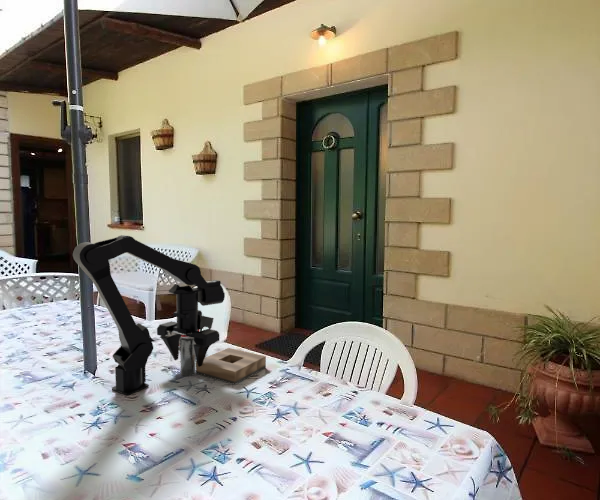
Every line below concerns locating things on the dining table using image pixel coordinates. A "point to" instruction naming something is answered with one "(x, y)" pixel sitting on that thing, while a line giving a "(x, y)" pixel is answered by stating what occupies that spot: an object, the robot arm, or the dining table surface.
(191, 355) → the metal pin
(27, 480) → the dining table surface
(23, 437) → the dining table surface
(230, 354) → the walnut block
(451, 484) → the dining table surface
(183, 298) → the robot arm
